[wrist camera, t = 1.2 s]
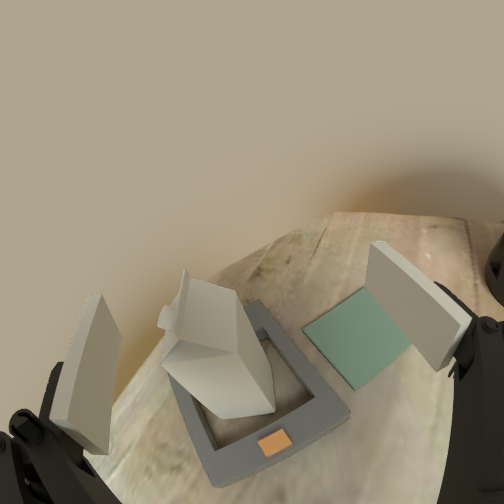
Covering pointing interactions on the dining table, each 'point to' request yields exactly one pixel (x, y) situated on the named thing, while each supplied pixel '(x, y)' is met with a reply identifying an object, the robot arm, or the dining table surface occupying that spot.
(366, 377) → the felt pad
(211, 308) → the milk carton
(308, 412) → the grey open frame
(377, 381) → the dining table surface
